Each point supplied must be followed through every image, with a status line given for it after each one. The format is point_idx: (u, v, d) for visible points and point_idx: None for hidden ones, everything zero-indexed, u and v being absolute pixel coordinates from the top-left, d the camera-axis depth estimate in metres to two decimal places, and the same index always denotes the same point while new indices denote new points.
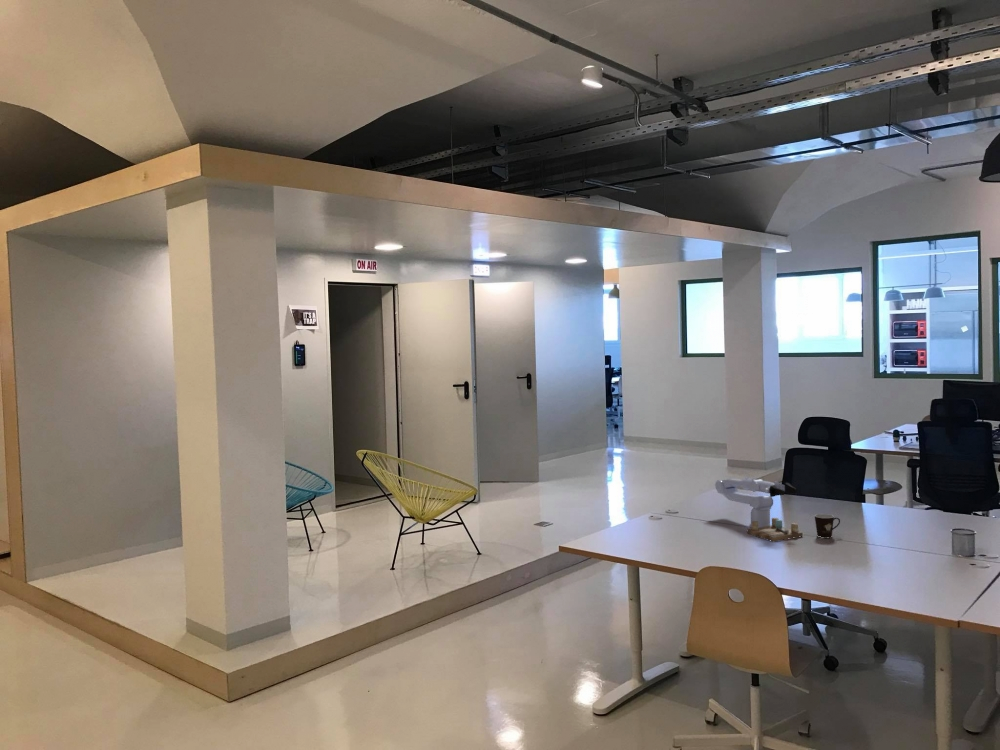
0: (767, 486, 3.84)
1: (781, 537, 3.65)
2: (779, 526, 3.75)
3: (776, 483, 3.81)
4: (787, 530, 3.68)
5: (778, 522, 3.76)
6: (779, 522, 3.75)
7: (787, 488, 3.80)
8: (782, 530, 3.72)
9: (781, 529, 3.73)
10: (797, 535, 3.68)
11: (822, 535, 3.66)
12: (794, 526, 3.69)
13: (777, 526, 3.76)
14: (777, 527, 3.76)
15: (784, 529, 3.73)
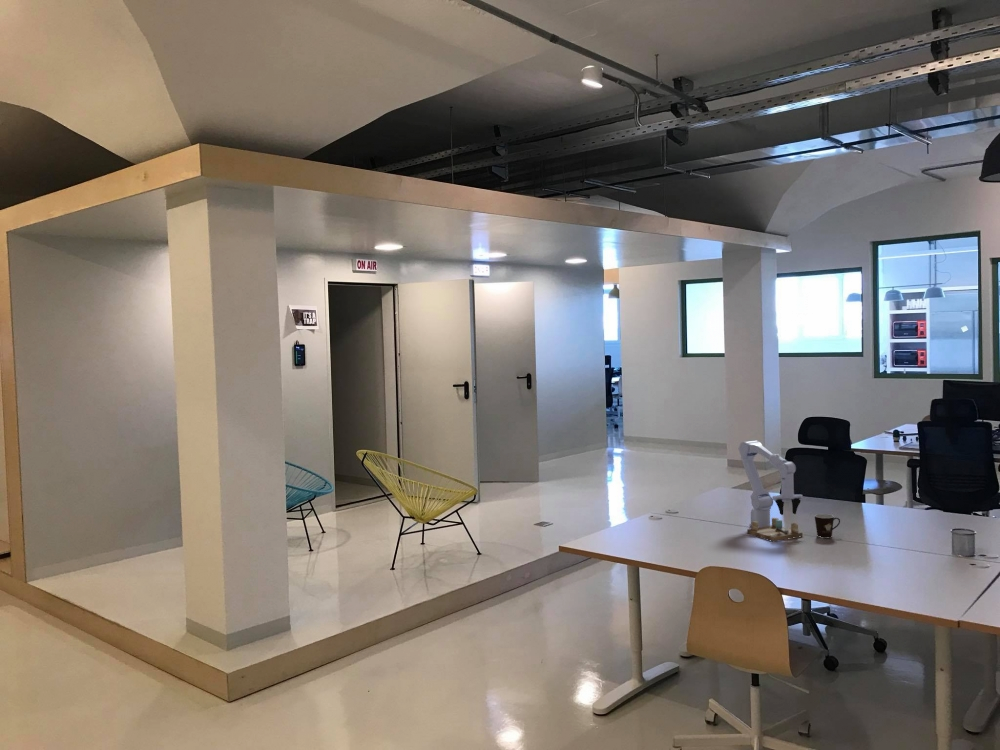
0: (783, 489, 3.75)
1: (781, 537, 3.65)
2: (779, 526, 3.75)
3: None
4: (787, 530, 3.68)
5: (778, 522, 3.76)
6: (779, 522, 3.75)
7: (794, 502, 3.77)
8: (782, 530, 3.72)
9: (781, 529, 3.73)
10: (797, 535, 3.68)
11: (822, 535, 3.66)
12: (794, 526, 3.69)
13: (777, 526, 3.76)
14: (777, 527, 3.76)
15: (784, 529, 3.73)
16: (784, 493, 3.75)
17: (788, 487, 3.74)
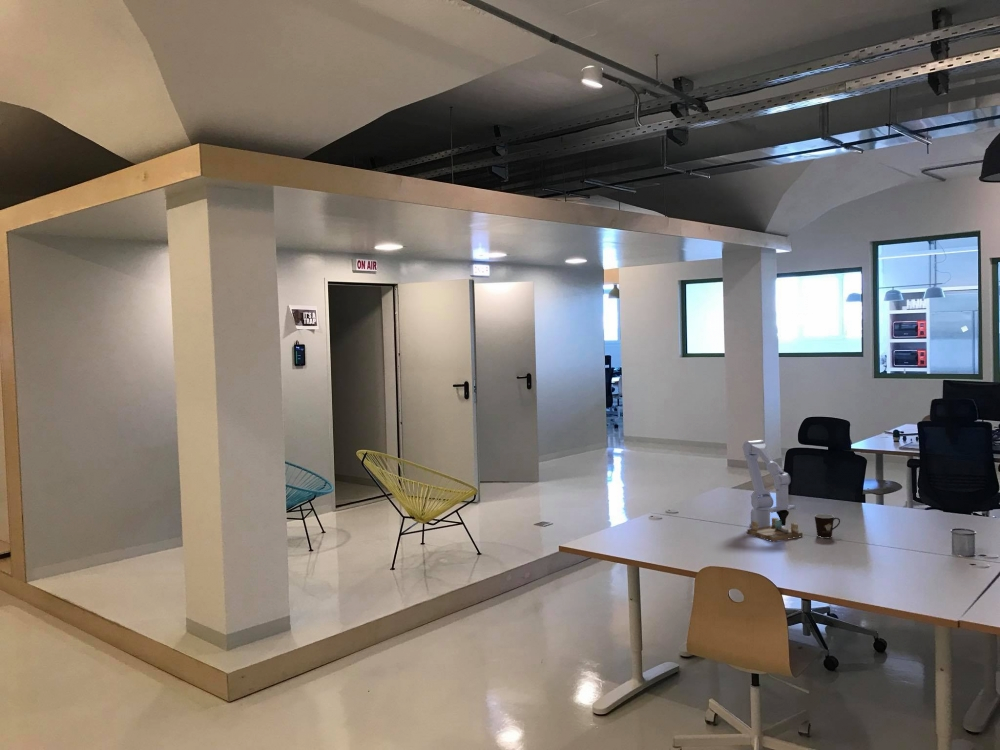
0: (779, 501, 3.75)
1: (781, 537, 3.65)
2: (779, 526, 3.75)
3: (785, 509, 3.74)
4: (787, 530, 3.68)
5: (778, 522, 3.76)
6: (779, 522, 3.75)
7: None
8: (782, 530, 3.72)
9: (781, 529, 3.73)
10: (797, 535, 3.68)
11: (822, 535, 3.66)
12: (794, 526, 3.69)
13: (776, 526, 3.76)
14: (776, 527, 3.76)
15: (784, 529, 3.73)
16: (780, 505, 3.74)
17: (784, 498, 3.74)
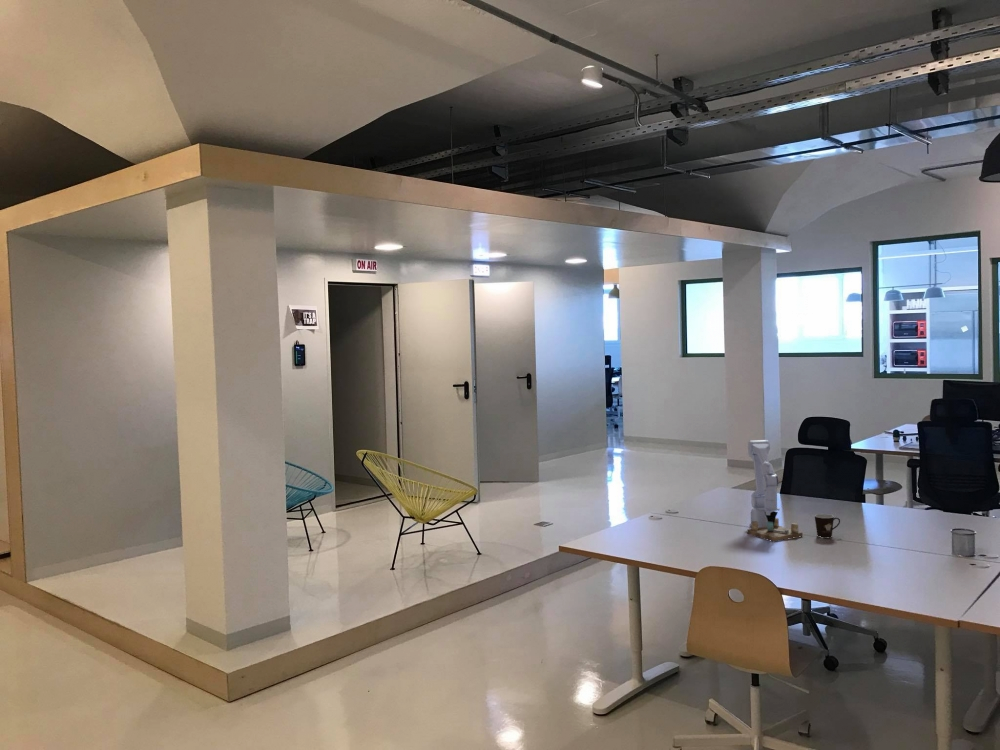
0: (772, 502, 3.72)
1: (781, 537, 3.65)
2: (772, 528, 3.73)
3: None
4: (788, 530, 3.69)
5: (771, 524, 3.73)
6: (772, 524, 3.73)
7: (771, 515, 3.75)
8: (780, 531, 3.70)
9: (778, 530, 3.71)
10: (797, 535, 3.68)
11: (822, 535, 3.66)
12: (794, 526, 3.69)
13: (770, 528, 3.73)
14: (770, 529, 3.73)
15: (779, 530, 3.72)
16: (773, 506, 3.72)
17: (776, 499, 3.73)
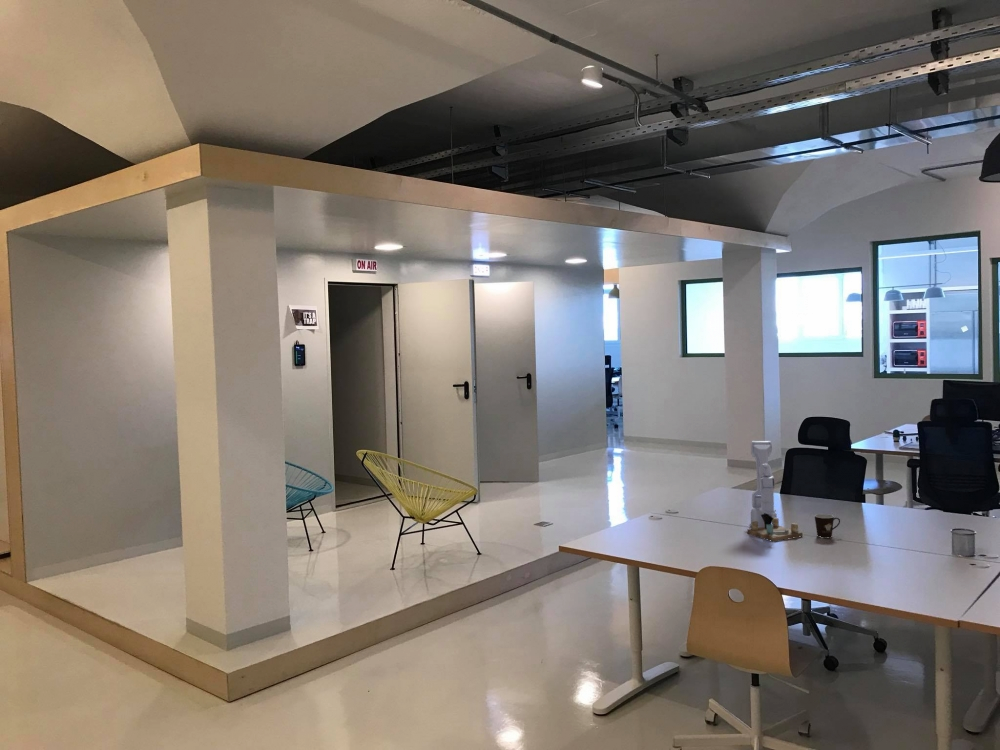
0: (772, 504, 3.68)
1: (781, 537, 3.65)
2: None
3: None
4: (787, 530, 3.69)
5: (772, 526, 3.68)
6: (772, 526, 3.69)
7: (768, 518, 3.71)
8: (781, 532, 3.68)
9: (778, 532, 3.68)
10: (797, 535, 3.68)
11: (822, 535, 3.66)
12: (794, 526, 3.69)
13: (772, 531, 3.68)
14: (772, 532, 3.68)
15: (778, 531, 3.70)
16: (772, 508, 3.69)
17: None
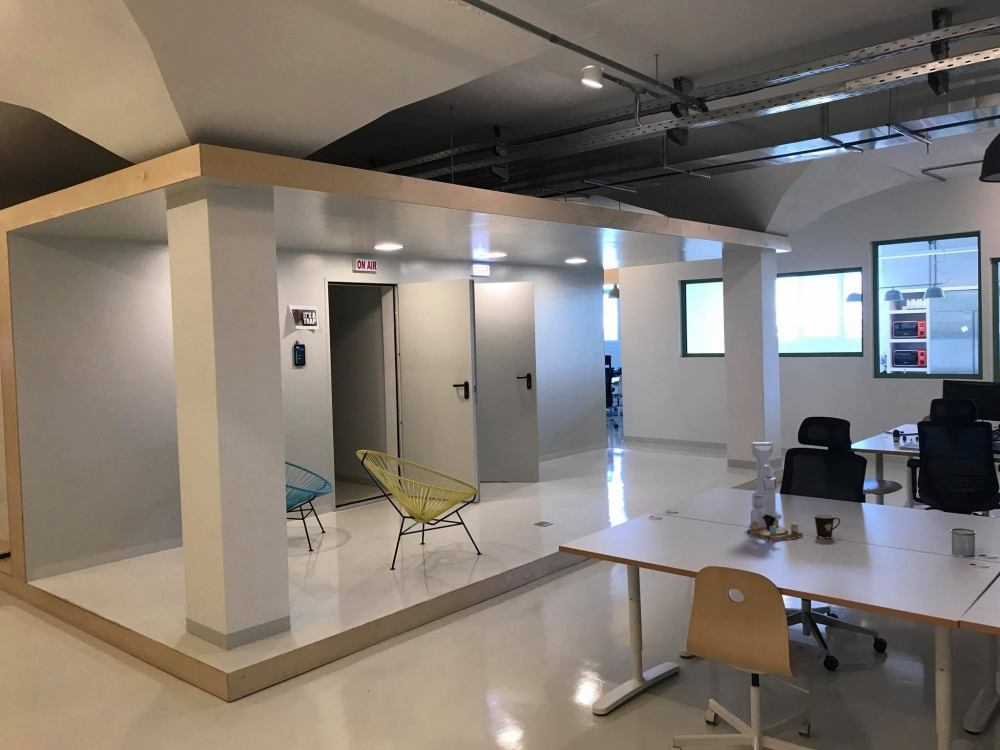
0: (774, 505, 3.66)
1: (781, 537, 3.65)
2: None
3: None
4: None
5: None
6: None
7: (770, 519, 3.68)
8: (783, 532, 3.67)
9: (781, 532, 3.67)
10: (797, 535, 3.68)
11: (822, 535, 3.66)
12: (794, 526, 3.69)
13: (776, 532, 3.65)
14: (776, 533, 3.65)
15: None
16: (775, 509, 3.66)
17: None
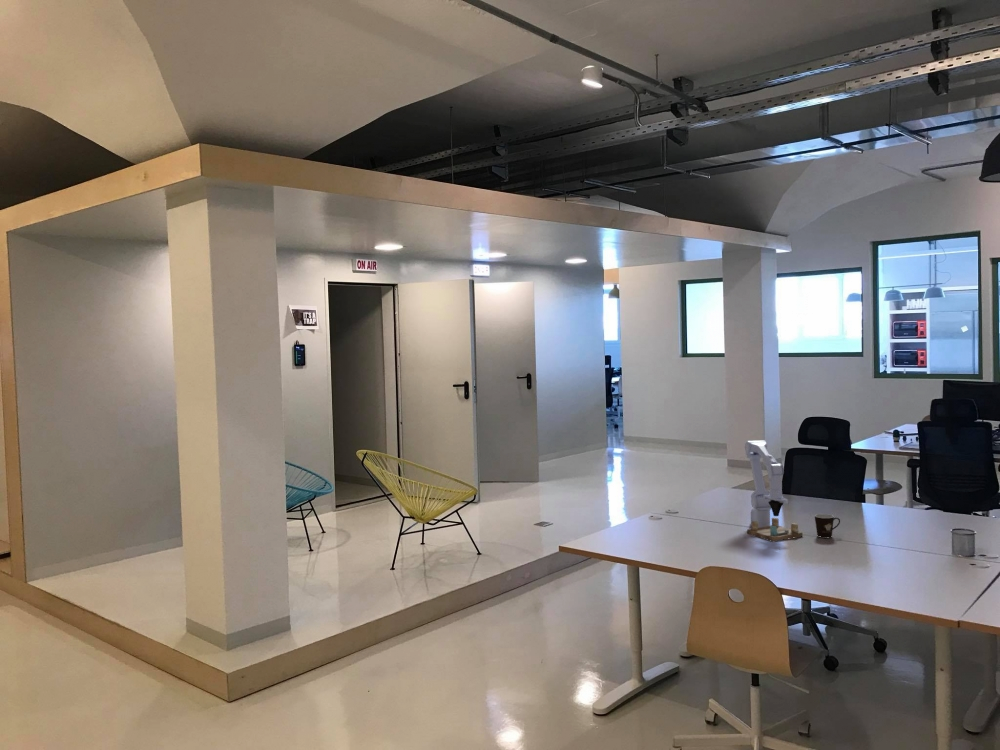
0: (781, 491, 3.72)
1: (781, 537, 3.65)
2: None
3: None
4: None
5: (776, 527, 3.65)
6: None
7: None
8: (783, 532, 3.67)
9: (781, 532, 3.67)
10: (797, 535, 3.68)
11: (822, 535, 3.66)
12: (794, 526, 3.69)
13: (776, 532, 3.65)
14: (776, 533, 3.65)
15: (779, 532, 3.68)
16: (781, 494, 3.73)
17: None
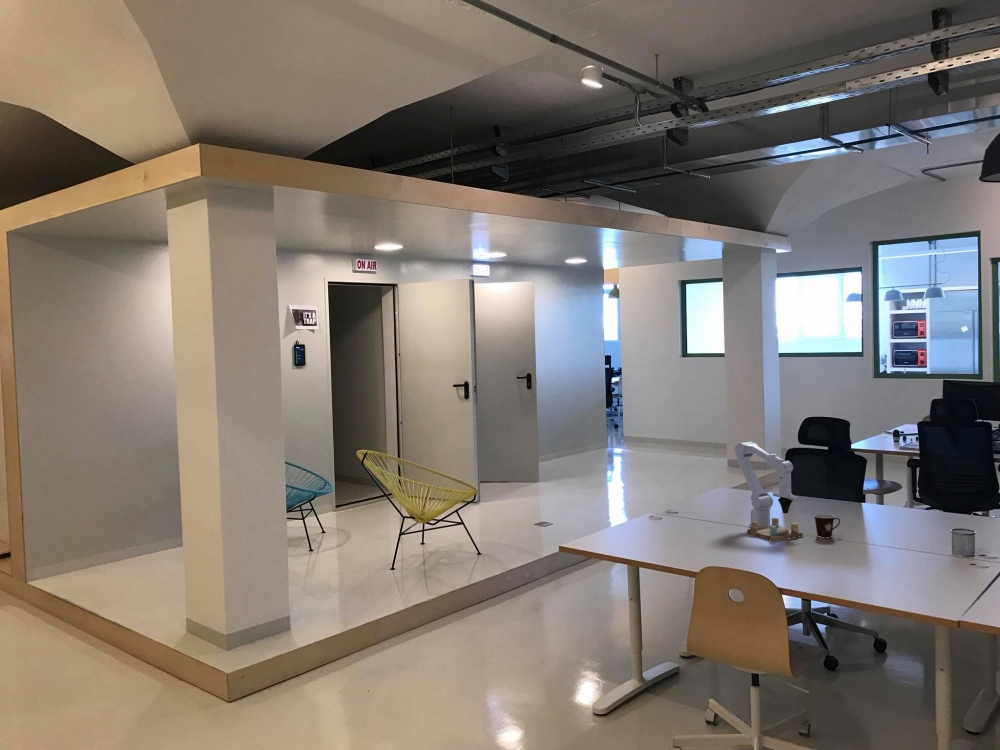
0: (790, 488, 3.77)
1: (781, 537, 3.65)
2: None
3: None
4: None
5: (776, 527, 3.65)
6: None
7: None
8: (783, 532, 3.67)
9: (781, 532, 3.67)
10: (797, 535, 3.68)
11: (822, 535, 3.66)
12: (794, 526, 3.69)
13: (776, 532, 3.65)
14: (776, 533, 3.65)
15: (779, 532, 3.68)
16: None
17: None
